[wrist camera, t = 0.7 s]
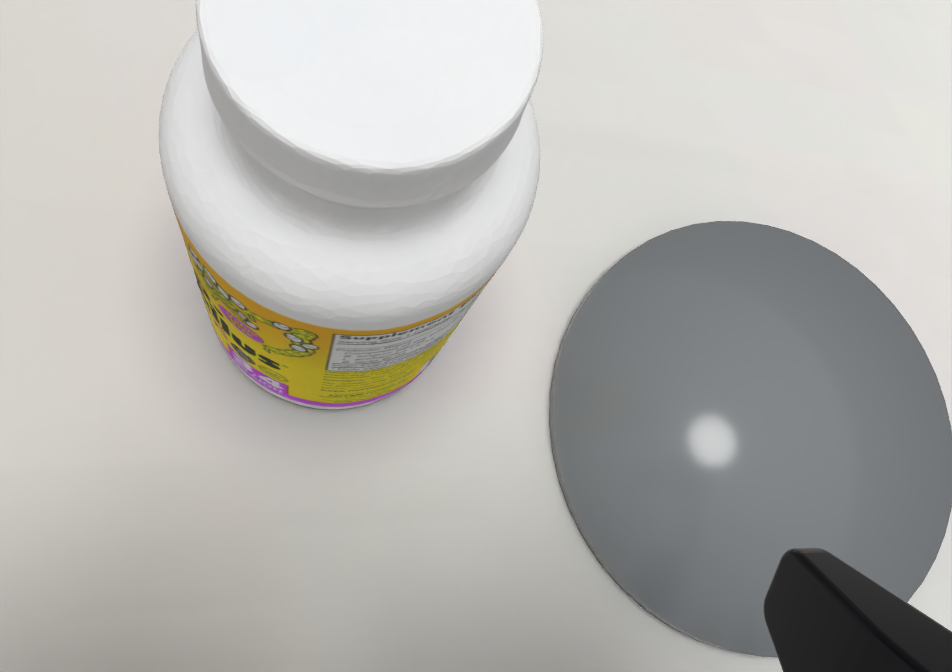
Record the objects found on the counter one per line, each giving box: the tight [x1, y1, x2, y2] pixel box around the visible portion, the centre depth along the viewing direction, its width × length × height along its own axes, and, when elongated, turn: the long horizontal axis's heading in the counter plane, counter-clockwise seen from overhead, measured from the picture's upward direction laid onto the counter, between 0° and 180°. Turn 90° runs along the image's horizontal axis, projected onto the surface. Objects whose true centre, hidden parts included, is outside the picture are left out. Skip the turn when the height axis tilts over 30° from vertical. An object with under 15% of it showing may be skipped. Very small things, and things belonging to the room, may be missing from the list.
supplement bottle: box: [159, 0, 543, 409], centre depth 17 cm, size 7×7×13 cm
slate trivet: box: [550, 221, 952, 657], centre depth 24 cm, size 13×13×1 cm
